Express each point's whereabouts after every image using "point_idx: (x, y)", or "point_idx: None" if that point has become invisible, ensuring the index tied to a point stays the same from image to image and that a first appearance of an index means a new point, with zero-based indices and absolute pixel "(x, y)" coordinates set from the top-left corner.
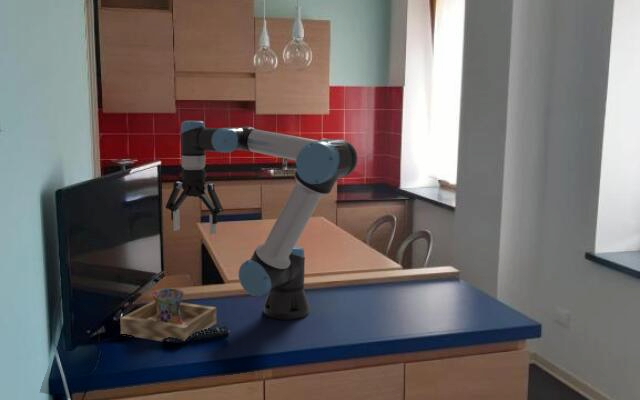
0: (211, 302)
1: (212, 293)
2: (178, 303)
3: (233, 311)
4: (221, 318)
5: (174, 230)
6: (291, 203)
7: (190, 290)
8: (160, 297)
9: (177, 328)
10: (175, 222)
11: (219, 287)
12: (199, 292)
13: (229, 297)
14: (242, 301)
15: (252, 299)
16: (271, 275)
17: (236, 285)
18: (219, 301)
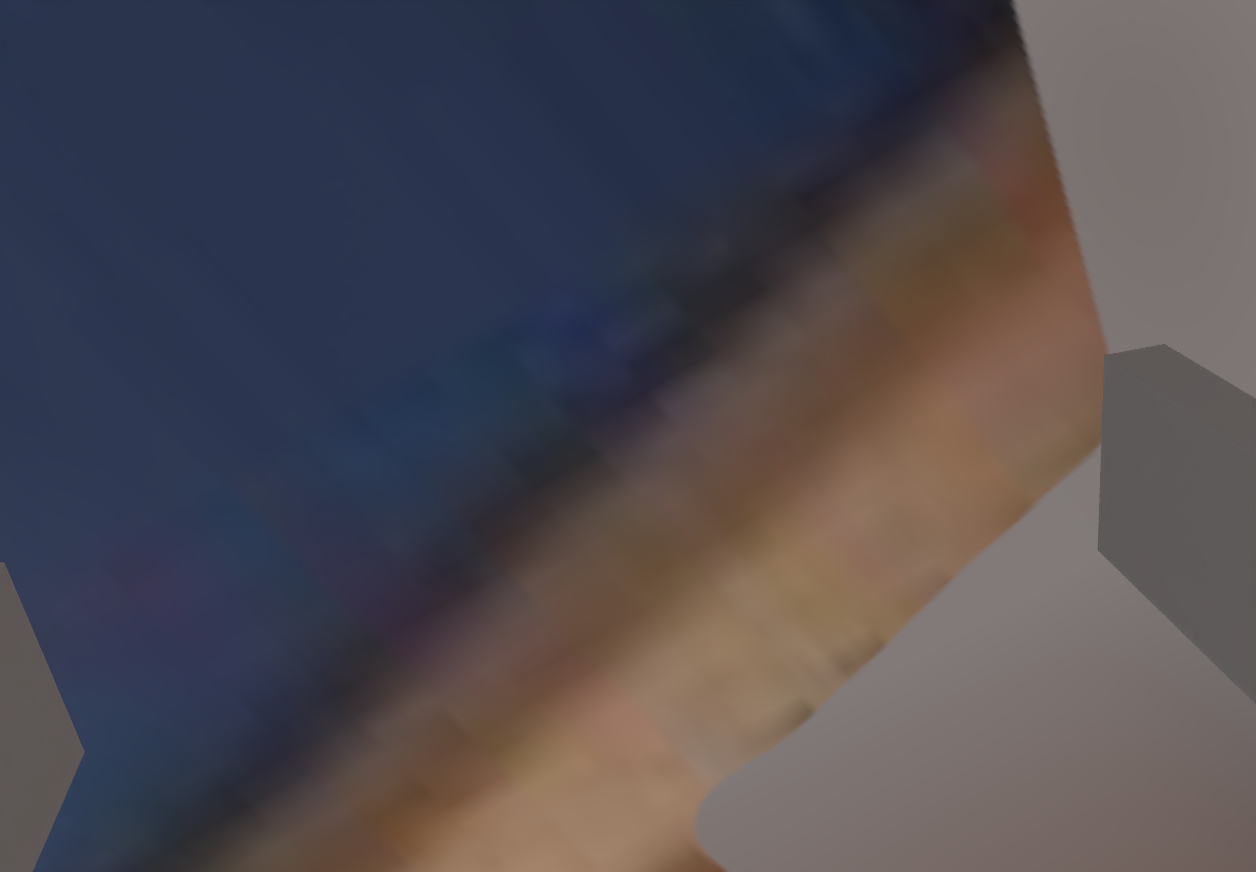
0: (489, 375)
1: (649, 569)
2: None
3: (116, 284)
4: (58, 47)
5: (1138, 349)
6: None
7: (880, 527)
8: None
9: None
10: (1252, 464)
11: (697, 715)
12: (772, 528)
13: (438, 567)
14: (255, 547)
15: (216, 634)
16: None
17: (600, 824)
18: (442, 437)
